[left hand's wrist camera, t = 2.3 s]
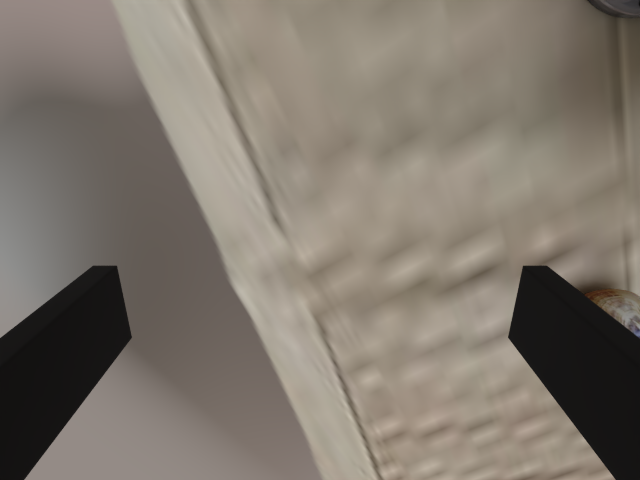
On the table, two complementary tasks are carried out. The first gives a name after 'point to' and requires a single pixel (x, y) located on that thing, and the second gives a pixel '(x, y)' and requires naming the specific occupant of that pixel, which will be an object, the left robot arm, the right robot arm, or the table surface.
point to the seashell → (619, 306)
